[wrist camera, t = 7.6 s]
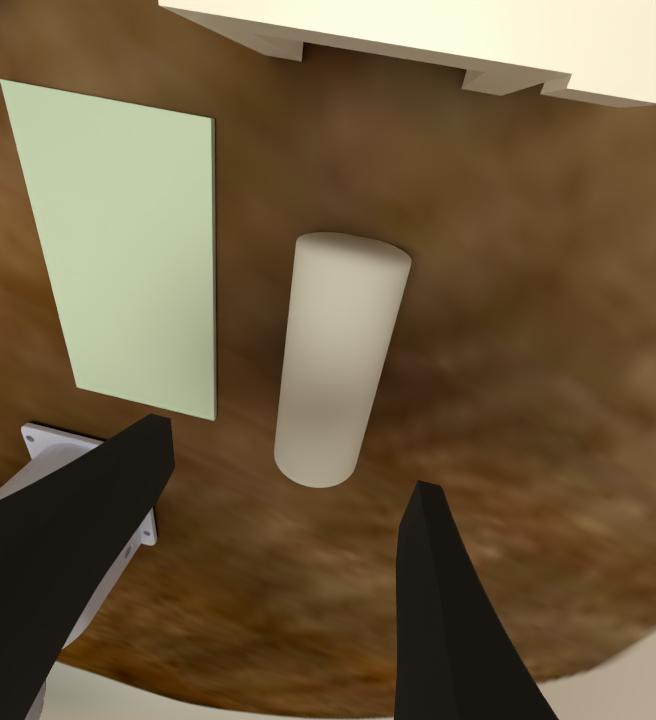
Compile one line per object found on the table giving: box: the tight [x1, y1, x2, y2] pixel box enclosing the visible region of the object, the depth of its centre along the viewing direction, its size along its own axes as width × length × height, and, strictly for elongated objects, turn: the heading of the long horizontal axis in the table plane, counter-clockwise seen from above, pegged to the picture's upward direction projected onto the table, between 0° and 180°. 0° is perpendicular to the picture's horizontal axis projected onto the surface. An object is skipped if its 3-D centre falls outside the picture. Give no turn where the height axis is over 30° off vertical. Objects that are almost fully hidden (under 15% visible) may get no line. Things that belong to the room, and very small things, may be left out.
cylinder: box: [274, 232, 412, 488], centre depth 16 cm, size 10×4×4 cm, turn 171°
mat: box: [0, 79, 217, 421], centre depth 18 cm, size 14×8×1 cm, turn 171°
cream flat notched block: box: [158, 0, 656, 108], centre depth 9 cm, size 2×9×6 cm, turn 81°
